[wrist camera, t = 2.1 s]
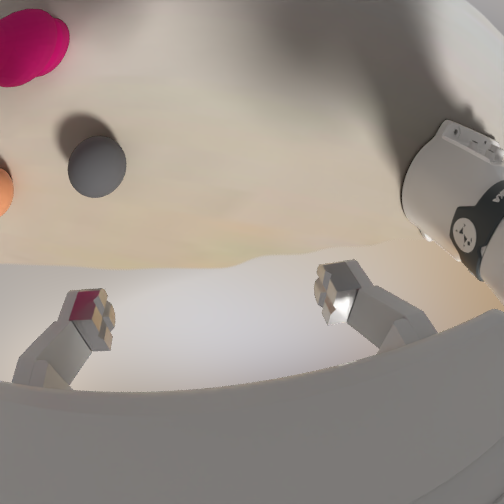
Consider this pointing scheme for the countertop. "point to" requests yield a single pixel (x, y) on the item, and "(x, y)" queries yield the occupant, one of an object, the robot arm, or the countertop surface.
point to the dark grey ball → (97, 166)
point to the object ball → (5, 191)
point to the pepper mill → (30, 45)
